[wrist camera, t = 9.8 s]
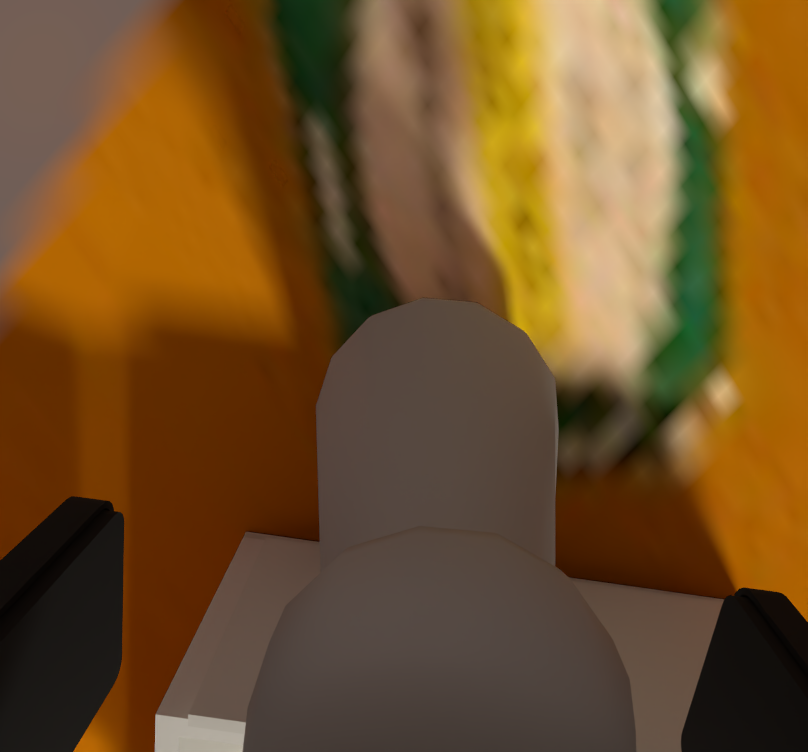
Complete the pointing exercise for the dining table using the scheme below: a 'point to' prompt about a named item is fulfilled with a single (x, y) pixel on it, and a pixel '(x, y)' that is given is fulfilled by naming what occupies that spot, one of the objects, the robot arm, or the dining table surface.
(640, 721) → the carton
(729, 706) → the robot arm
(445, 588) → the salt shaker
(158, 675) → the dining table surface
